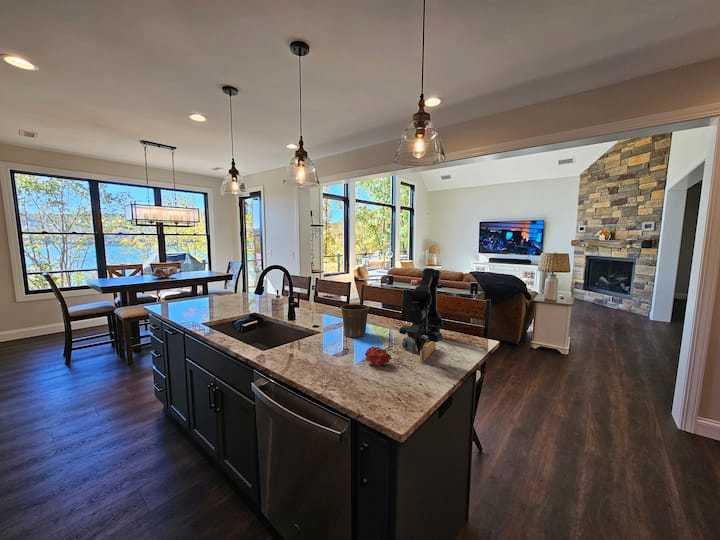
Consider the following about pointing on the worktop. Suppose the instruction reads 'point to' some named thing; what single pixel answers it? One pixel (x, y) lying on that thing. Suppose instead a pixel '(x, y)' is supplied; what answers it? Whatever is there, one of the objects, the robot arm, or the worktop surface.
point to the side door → (427, 350)
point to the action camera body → (411, 344)
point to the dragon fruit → (377, 356)
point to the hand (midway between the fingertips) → (419, 352)
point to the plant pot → (354, 319)
